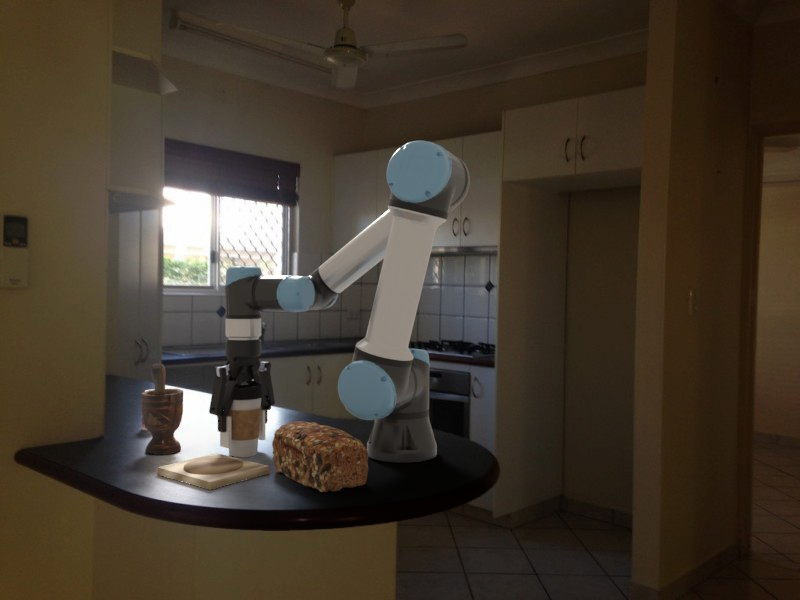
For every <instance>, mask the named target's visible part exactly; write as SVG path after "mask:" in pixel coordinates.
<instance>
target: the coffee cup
mask: <svg viewBox="0 0 800 600" xmlns="http://www.w3.org/2000/svg"><path fill="white" fill-rule="evenodd" d="M262 397H263V392H262V385H261V384H258V385H257V386H252V387H249V384H248V383H246V384H243V383H241V385H240V386H239V387H238V389H234V395H233V398H232V400H233V403H232V406H231V408H230V411H229V414H228V416H231V448H228V456H230V457H232V456H234V458H249V457H250V458H251V457H254V456H255V455H257V454H258V447H259V439H258V437H259V428H260V418H261V408H262V407H261V398H262Z"/></svg>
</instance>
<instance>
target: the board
mask: <svg viewBox="0 0 800 600" xmlns="http://www.w3.org/2000/svg"><path fill="white" fill-rule="evenodd" d="M156 475H157V476H159V477H162V476H164V478H166V477H167V479H169V478H172V479H171V480H173V479H175V480H174V481H176V480H179V481H183V482H187V483H190V484H193V485H196V486H199V487H198V488H200V487H202V488H201V489H203V488H206V489H205V490H207V489H209V490H208V491H212V490H211V489H213V490H216V489H215V488H217V489H220V488H223V487H222V486H224V487H226V486H225V485H227V486H230V485H229V484H231V485H233V484H232V483H234V484H236V483H235V482H238V483H240V482H239V481H241V482H243V481H242V480H245V481H247V480H246V479H248V480H251V478H252V479H255V478H259V477H262V475H263V476H266V475H270V465H267V464H262V463H259V462H255V461H251V460H247V459H243V458H240V457H232V456H230V455H225V454H220V453H217V452H216V453H212V454H209V455H208V454H207V455H204V456H200V457H194V458H191V459H187V460H182V461H178V462H174V463H170V464H165V465H160V466H158V467H157V468H156ZM258 476H259V477H258ZM254 477H255V478H254ZM179 481H178V482H179ZM183 482H182V483H183ZM190 484H189V485H190ZM193 485H192V486H193ZM196 486H195V487H196ZM219 487H220V488H219Z"/></svg>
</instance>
